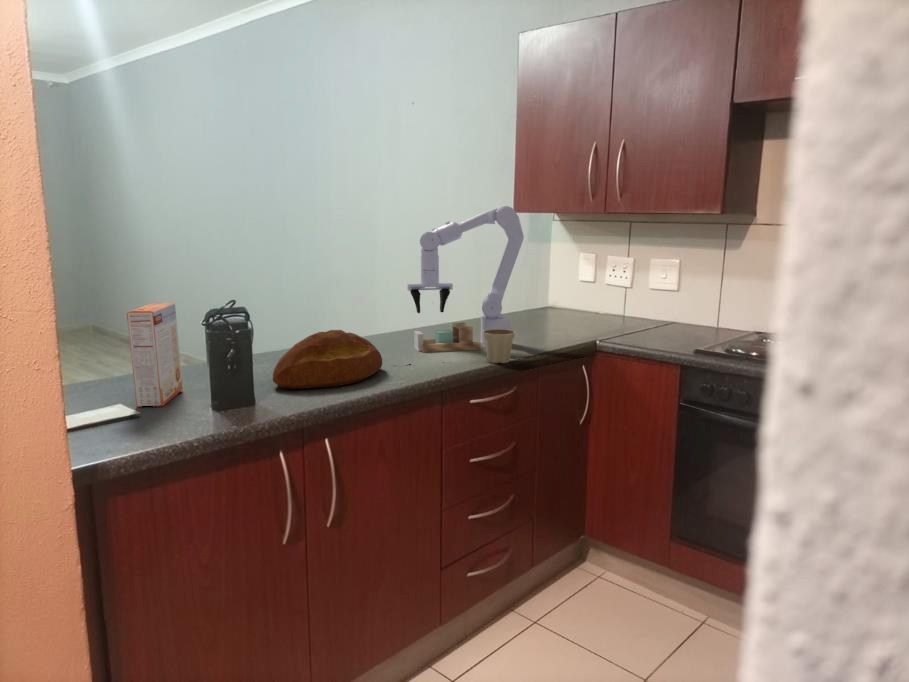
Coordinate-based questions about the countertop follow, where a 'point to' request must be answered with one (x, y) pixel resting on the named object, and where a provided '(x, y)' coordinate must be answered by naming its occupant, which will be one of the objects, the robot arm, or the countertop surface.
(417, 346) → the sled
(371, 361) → the bread
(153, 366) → the cracker box
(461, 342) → the wooden frame
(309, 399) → the countertop surface
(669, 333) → the countertop surface
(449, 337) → the block
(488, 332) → the flower pot
